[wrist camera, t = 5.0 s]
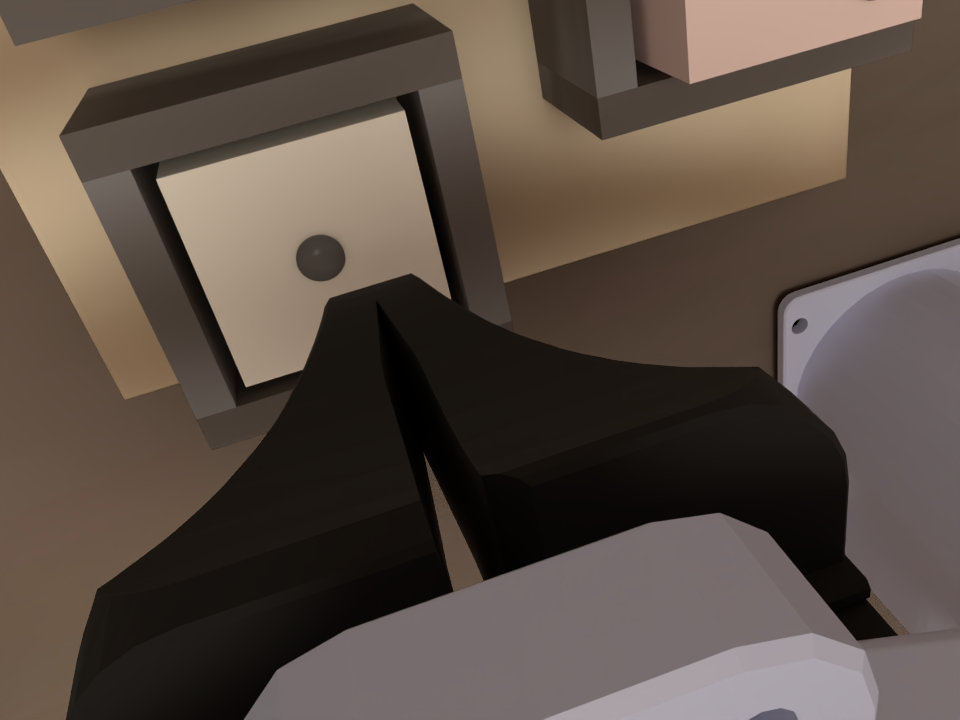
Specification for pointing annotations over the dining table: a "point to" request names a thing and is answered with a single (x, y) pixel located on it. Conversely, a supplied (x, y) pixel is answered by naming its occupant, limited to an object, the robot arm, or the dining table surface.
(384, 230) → the tile one
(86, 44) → the console
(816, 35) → the tile three
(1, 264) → the dining table surface
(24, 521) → the dining table surface
